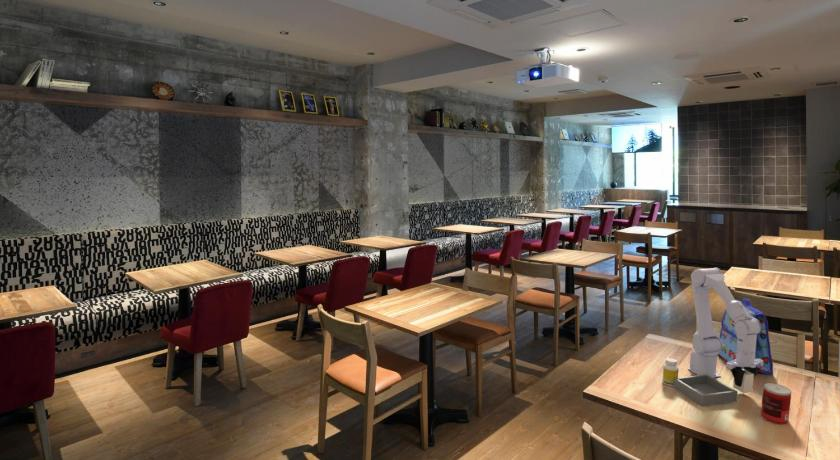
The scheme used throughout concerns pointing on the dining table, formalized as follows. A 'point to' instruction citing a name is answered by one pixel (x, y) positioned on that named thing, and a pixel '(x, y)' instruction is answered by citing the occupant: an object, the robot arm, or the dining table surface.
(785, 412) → the canned food
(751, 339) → the robot arm
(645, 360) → the dining table surface
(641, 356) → the dining table surface
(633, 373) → the dining table surface
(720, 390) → the tray
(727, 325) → the lunch bag
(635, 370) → the dining table surface
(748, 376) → the juice carton
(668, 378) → the supplement bottle
